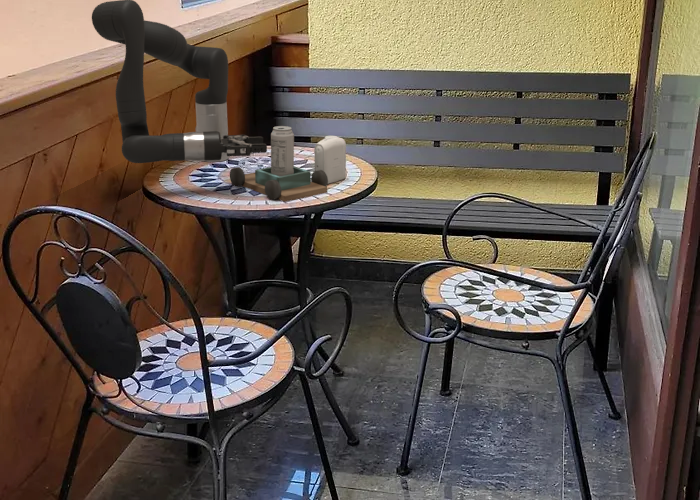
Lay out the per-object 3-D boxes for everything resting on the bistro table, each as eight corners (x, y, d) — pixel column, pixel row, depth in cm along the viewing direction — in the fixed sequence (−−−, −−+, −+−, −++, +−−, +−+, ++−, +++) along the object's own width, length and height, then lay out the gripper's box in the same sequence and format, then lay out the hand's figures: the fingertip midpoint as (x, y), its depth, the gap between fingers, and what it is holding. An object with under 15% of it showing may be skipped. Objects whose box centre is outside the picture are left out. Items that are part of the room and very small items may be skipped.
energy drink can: (298, 183, 217) (298, 128, 212) (281, 187, 213) (281, 131, 208) (283, 179, 221) (282, 124, 216) (266, 183, 217) (266, 127, 211)
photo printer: (323, 186, 220) (324, 141, 216) (312, 183, 223) (312, 139, 219) (347, 179, 228) (348, 135, 224) (336, 176, 230) (336, 133, 226)
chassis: (226, 183, 222) (226, 165, 220) (276, 173, 232) (276, 156, 231) (280, 203, 205) (279, 184, 203) (331, 191, 216) (331, 173, 214)
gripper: (202, 137, 201) (267, 136, 204) (200, 126, 214) (261, 124, 217) (204, 167, 204) (268, 165, 207) (201, 154, 217) (262, 152, 220)
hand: (264, 144), depth 212 cm, fingers open, 8 cm apart
